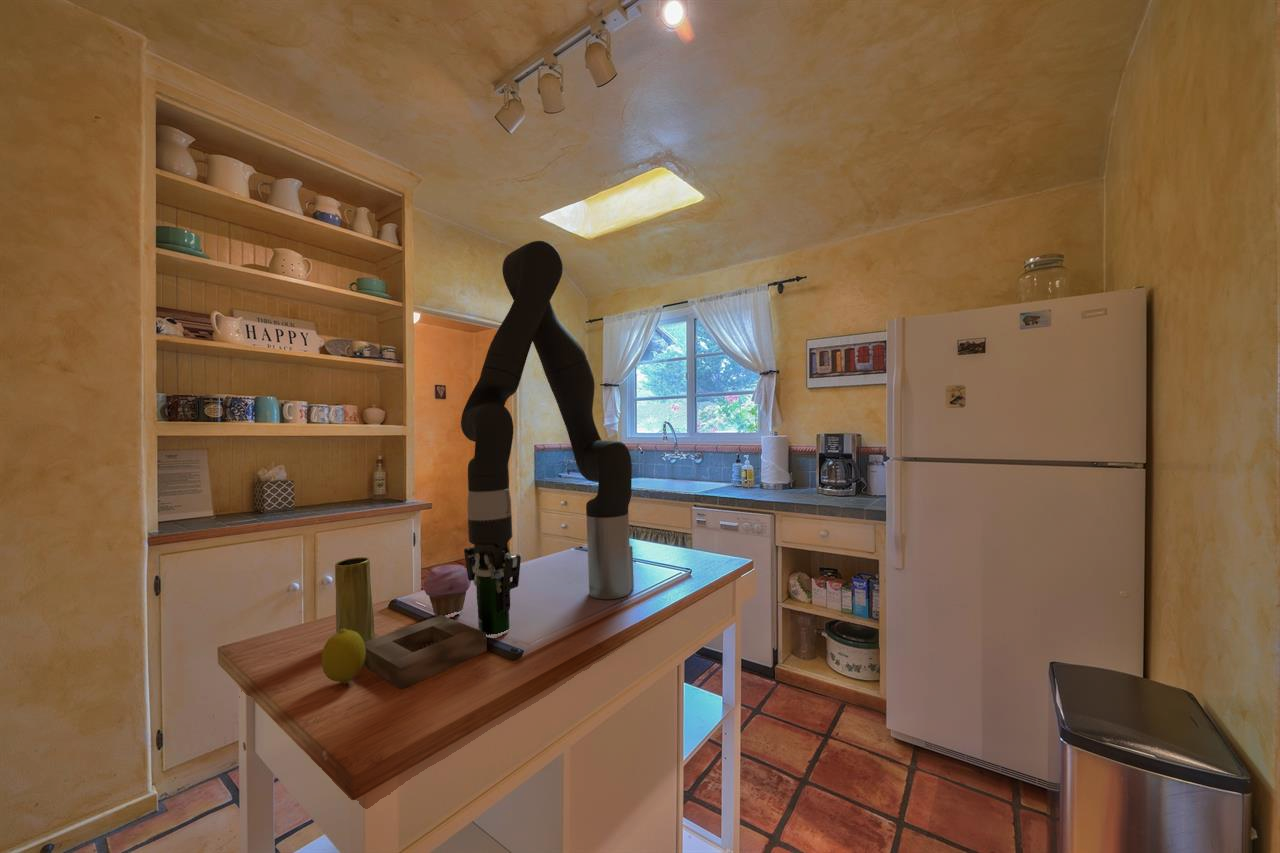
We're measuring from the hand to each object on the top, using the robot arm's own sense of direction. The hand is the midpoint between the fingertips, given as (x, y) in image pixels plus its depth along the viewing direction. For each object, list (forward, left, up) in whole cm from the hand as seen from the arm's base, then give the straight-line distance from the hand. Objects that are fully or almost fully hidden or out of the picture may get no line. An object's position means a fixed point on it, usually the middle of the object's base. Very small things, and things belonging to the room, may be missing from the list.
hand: (493, 608), depth 87 cm
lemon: (+23, -4, -5) cm, 24 cm away
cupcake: (0, -15, -5) cm, 16 cm away
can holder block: (+12, -2, -4) cm, 13 cm away
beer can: (0, 0, -5) cm, 5 cm away
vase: (+16, -18, -5) cm, 25 cm away
